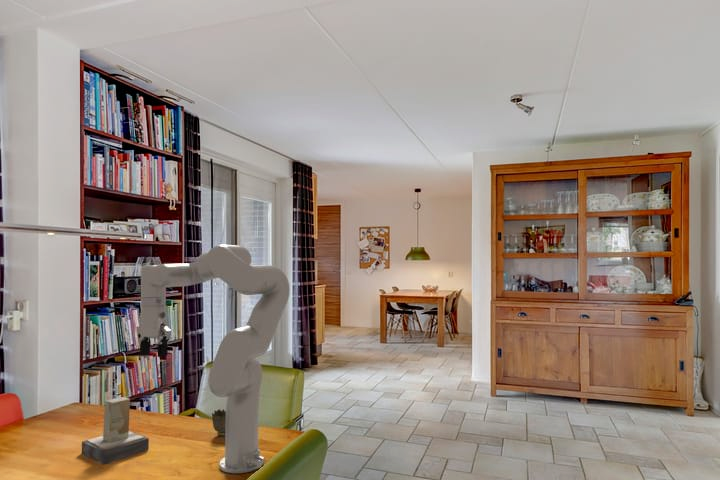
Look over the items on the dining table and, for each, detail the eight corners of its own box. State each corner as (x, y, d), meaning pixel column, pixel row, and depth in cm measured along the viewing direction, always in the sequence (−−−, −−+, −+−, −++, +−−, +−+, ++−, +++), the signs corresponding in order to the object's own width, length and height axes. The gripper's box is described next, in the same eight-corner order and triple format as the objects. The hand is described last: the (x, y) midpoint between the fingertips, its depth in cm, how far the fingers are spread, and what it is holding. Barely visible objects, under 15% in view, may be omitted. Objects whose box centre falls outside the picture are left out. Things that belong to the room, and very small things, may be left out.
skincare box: (109, 443, 146) (110, 403, 147) (102, 440, 148) (103, 400, 149) (129, 437, 151) (130, 398, 152) (122, 434, 154) (123, 396, 154)
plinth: (148, 449, 151) (148, 436, 151) (103, 464, 140) (104, 450, 140) (125, 439, 159) (125, 427, 160) (81, 453, 148) (82, 440, 148)
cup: (227, 440, 159) (227, 416, 160) (207, 438, 161) (207, 414, 161) (237, 432, 167) (237, 409, 167) (218, 430, 168) (218, 408, 169)
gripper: (179, 302, 154) (179, 355, 153) (148, 301, 163) (149, 351, 162) (158, 304, 148) (158, 359, 146) (127, 303, 157) (127, 355, 156)
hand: (153, 355), depth 154 cm, fingers open, 9 cm apart
